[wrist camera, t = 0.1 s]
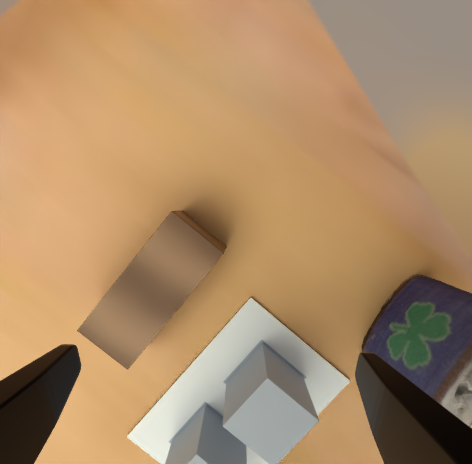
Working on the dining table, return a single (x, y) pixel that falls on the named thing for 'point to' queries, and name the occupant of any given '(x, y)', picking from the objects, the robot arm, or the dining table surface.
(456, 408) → the flask
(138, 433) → the white flat rectangular plate
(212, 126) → the dining table surface
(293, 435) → the tilted pale grey prism
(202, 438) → the pillar
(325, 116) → the dining table surface
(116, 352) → the lintel
